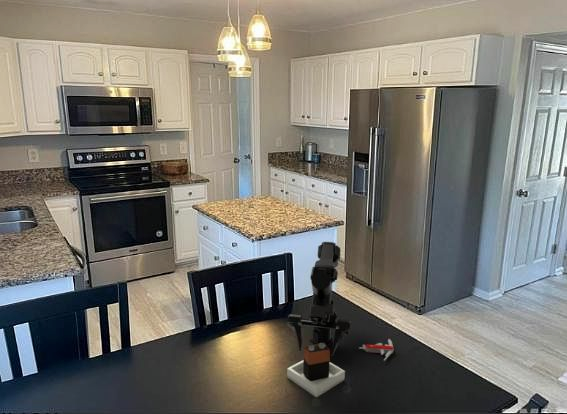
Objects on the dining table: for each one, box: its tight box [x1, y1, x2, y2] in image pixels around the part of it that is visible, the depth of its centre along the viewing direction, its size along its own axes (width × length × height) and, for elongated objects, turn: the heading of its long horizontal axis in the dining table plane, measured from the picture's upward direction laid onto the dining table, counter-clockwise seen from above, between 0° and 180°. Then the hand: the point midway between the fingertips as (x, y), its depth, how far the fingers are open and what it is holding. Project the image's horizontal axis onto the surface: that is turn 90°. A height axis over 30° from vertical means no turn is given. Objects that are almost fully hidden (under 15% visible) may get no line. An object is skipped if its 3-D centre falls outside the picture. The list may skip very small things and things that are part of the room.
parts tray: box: [286, 359, 346, 398], centre depth 123 cm, size 12×12×3 cm
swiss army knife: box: [358, 338, 395, 362], centre depth 138 cm, size 12×14×2 cm
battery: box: [303, 343, 331, 381], centre depth 122 cm, size 4×7×10 cm, turn 110°
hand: (316, 353), depth 120 cm, fingers open, 9 cm apart
